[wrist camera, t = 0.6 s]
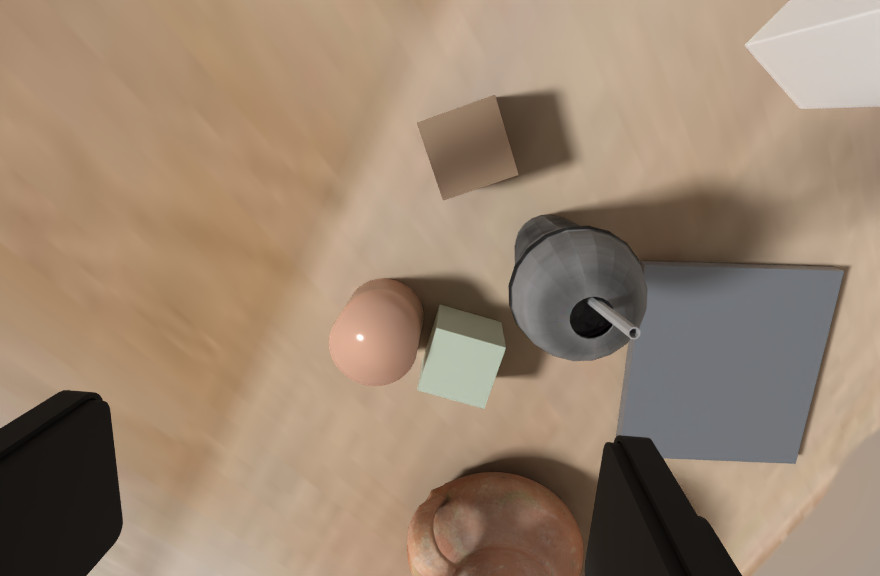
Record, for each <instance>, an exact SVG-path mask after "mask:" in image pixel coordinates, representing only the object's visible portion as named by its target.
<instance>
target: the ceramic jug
mask: <svg viewBox="0 0 880 576" xmlns="http://www.w3.org/2000/svg"><path fill="white" fill-rule="evenodd" d="M407 553H408V561H409V566H410V569H411V573H412V575H413V576H580V574H581V570H582V565H583V556H584V549H583V540H582V535H581V532H580V529H579V527H578V524H577V522H576V520H575V518H574V516H573V515H572V513H571V512H570V510H569V509H568V507H567V506H566V505H565V504H564V502H563V501H562V500H561V499H560V498H559V497H558V496H556V495H555V494H554V493H553V492H552V491H550V490H549V489H547V488H546V487H544V486H543V485H541V484H539V483H537V482H535V481H533V480H531V479H528V478H526V477H523V476H520V475H515V474H511V473H504V472H483V473H476V474H471V475H467V476H464V477H461V478H458V479H455V480H453V481H450V482H448V483H446V484H444V485H443V486H441V487H438V488H436V489H433V490H432V491H431V493H430V495H429V497H428V499H427V500H426V501H425V502H424V503H423V504H421V505H420V506H419V507H418V509H417V510H416V512H415V514H414V516H413V518H412V520H411V523H410V526H409V529H408V544H407Z"/></svg>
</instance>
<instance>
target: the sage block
mask: <svg viewBox="0 0 880 576" xmlns="http://www.w3.org/2000/svg"><path fill="white" fill-rule="evenodd" d="M505 349H506V345H505V339H504V334H503V328H502V323H501V322H500V321H496V320H493V319H489V318H486V317H482V316H479V315H475V314H472V313H468V312H465V311H461V310H458V309H454V308H451V307H447V306H444V305H439V308H438V311H437V315H436V318H435V321H434V324H433V328H432V331H431V334H430V337H429V341H428V344H427V347H426V351H425V354H424V357H423V360H422V366H421V372H420V378H419V383H418V389H417V390H418V391H422V392H425V393H429V394H433V395H436V396H440V397H443V398H447V399H451V400H454V401H458V402H461V403H465V404H468V405H472V406H476V407H479V408H483V409H484V408H485V405H486V403H487V400H488V397H489V394H490V391H491V389H492V386H493V383H494V380H495V377H496V375H497V372H498V369H499V366H500V363H501V361H502V358H503V355H504V352H505Z"/></svg>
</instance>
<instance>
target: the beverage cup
mask: <svg viewBox="0 0 880 576" xmlns="http://www.w3.org/2000/svg"><path fill="white" fill-rule="evenodd" d="M647 291H648V289H647V285H646V282H645V278H644V275H643V272H642V268H641V266H640V262H639V259H638V258H637V257H636V255H635V254H634V253H633V251H632V250H631V248H630V247H629V246H628V244H627V243H626V242H624V241H623V240H621V239H620V238H618V237H617V236H615V235H614V234H612V233H611V232H609V231H606V230H602V229H598V228H594V227H591V226H580V225H578V224H575V223H573V222H571V221H569V220H567V219H565V218H561V217H557V216H553V215H540V216H538V217H535V218H532V219H531V220H529V221H528V222H527V223H525V224H524V225H523V227H522V228H521V230H520V231H519V232H518V235H517V238H516V243H515V266H514V270H513V273H512V276H511V279H510V282H509V306H510V309H511V311H512V314H513V317H514V319H515V322H516V324H517V325H518V326H519V328H520V329H521V330H522V331H523V332H524V334H525V335H526V336H527V337H528V338H529V339H530V340H531V341H532V342H533V343H534V344H535V345H536V346H538V347H539V348H541V349H543V350H544V351H546V352H547V353H549V354H551V355H552V356H556V357H559V358H563V359H567V360H571V361H592V360H596V359H599V358H602V357H605V356H608V355H611V354H612V353H614V352H615V351H617V350H618V349H620V348H621V347H623V346H624V345H626V344H627V343H628V342H629V340H630V339H637V338H638V337H639V336H640V332H641V331H640V330H639V327H640V325H641V323H642V320H643V318H644V315H645V313H646V309H647Z"/></svg>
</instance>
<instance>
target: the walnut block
mask: <svg viewBox="0 0 880 576" xmlns="http://www.w3.org/2000/svg"><path fill="white" fill-rule="evenodd" d="M417 125H418V128H419V131H420V134H421V137H422V139H423V142H424V145H425V148H426V151H427V154H428V157H429V160H430V163H431V166H432V169H433V172H434V175H435V178H436V181H437V184H438V187H439V190H440V193H441V196H442V199H443V200H446V199H449V198H452V197H455V196H458V195H461V194H464V193H466V192H469V191H472V190H475V189H478V188H481V187H484V186H487V185H490V184H493V183H496V182H499V181H502V180H505V179H508V178H511V177H514V176H517V175H519V174H518V171H517V168H516V164H515V161H514V157H513V154H512V151H511V147H510V144H509V140H508V137H507V134H506V130H505V127H504V123H503V120H502V117H501V113H500V110H499V107H498V103H497V100H496V96H495V95H493V96H490V97H488V98H485V99H482V100H479V101H476V102H474V103H471V104H468V105H465V106H463V107H460V108H457V109H454V110H451V111H449V112H446V113H443V114H440V115H437V116H435V117H432V118H429V119H426V120H424V121H421V122H418V123H417Z"/></svg>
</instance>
